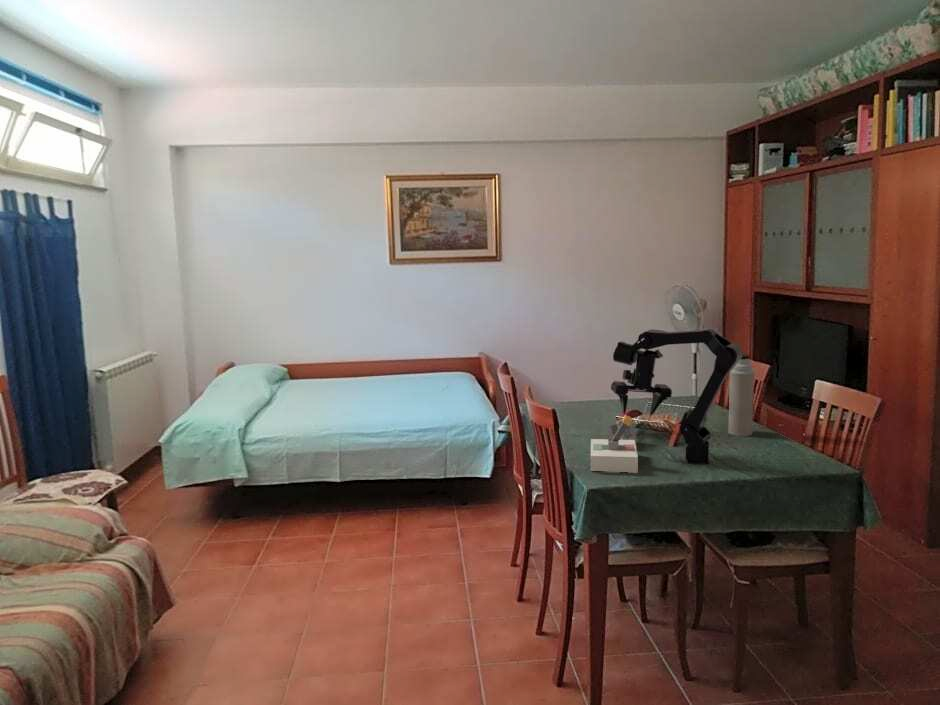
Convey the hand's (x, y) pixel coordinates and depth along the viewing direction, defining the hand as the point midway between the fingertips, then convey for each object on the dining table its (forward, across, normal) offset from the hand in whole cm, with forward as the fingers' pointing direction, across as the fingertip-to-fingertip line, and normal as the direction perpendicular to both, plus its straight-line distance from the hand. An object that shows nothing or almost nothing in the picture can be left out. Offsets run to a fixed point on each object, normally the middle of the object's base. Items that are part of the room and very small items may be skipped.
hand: (637, 414), depth 234 cm
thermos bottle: (+9, -44, -12) cm, 46 cm away
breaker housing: (+13, +10, +11) cm, 19 cm away
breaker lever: (+6, +10, +10) cm, 16 cm away
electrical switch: (+14, 0, -7) cm, 16 cm away
